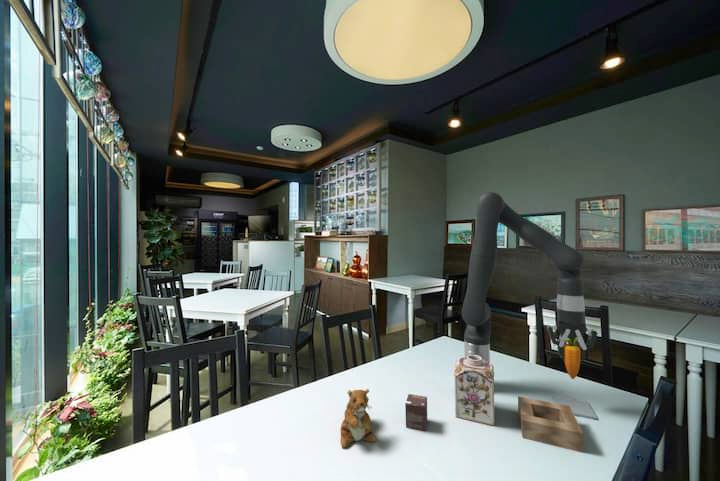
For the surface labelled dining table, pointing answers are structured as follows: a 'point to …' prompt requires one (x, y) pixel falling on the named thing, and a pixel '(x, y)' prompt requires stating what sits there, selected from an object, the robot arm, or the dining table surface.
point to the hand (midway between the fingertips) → (572, 358)
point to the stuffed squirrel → (356, 419)
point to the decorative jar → (474, 389)
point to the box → (416, 412)
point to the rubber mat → (576, 407)
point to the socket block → (549, 423)
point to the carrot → (572, 357)
